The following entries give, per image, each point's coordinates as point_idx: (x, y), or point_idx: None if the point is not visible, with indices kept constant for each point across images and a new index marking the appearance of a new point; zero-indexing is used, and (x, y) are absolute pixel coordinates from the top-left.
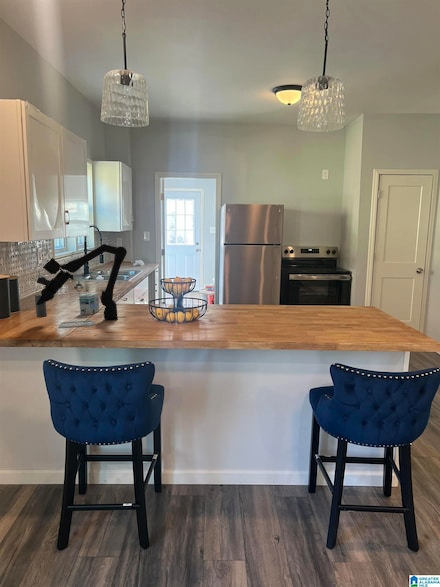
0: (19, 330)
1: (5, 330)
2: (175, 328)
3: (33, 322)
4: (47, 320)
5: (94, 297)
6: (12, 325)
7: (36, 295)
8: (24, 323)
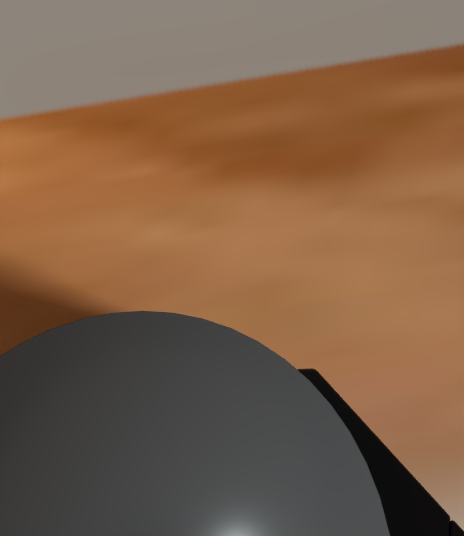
0: (42, 214)
1: (97, 103)
2: None
3: (357, 286)
4: (419, 421)
5: None
6: (281, 123)
7: (96, 407)
8: (335, 209)
